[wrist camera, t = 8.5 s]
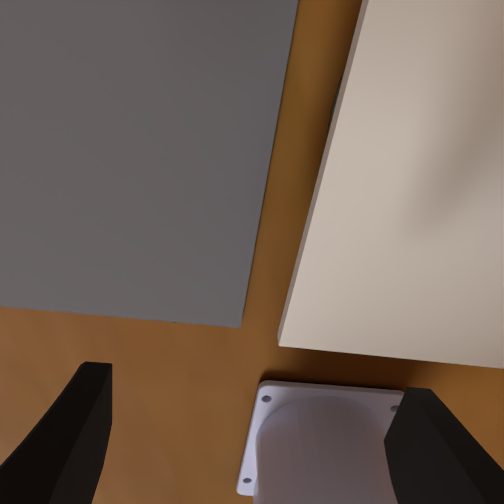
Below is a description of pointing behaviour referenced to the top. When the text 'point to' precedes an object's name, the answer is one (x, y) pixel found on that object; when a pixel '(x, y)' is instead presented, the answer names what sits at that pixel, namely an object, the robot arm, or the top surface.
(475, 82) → the lid
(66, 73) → the mat
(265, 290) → the top surface
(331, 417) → the robot arm
